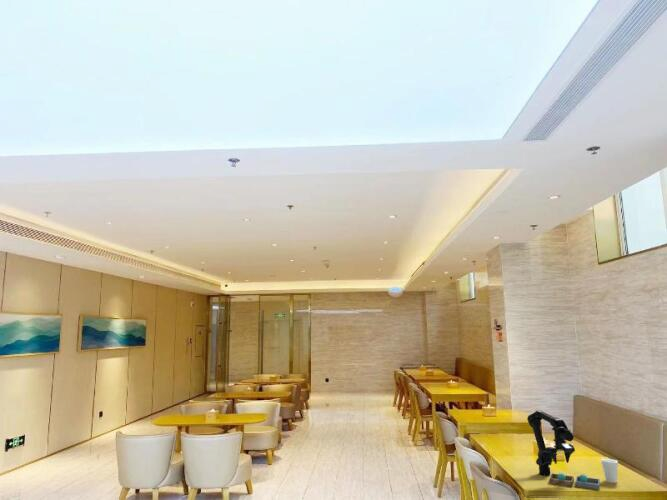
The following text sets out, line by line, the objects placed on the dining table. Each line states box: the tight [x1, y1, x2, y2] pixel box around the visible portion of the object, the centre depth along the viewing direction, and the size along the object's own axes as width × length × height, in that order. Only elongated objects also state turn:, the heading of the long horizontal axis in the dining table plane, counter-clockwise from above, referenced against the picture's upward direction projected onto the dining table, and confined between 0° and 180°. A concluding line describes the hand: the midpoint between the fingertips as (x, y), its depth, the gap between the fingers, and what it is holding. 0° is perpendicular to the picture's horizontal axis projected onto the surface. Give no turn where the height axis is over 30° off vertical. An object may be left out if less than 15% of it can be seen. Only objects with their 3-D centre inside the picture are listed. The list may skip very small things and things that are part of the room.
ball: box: [578, 473, 589, 483], centre depth 303 cm, size 5×5×5 cm
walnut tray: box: [549, 473, 575, 488], centre depth 305 cm, size 13×13×3 cm
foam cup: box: [601, 458, 619, 484], centre depth 308 cm, size 10×9×13 cm
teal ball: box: [557, 472, 566, 481], centre depth 305 cm, size 5×5×5 cm
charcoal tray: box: [574, 475, 601, 491], centre depth 299 cm, size 13×13×3 cm
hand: (561, 463), depth 306 cm, fingers open, 9 cm apart
